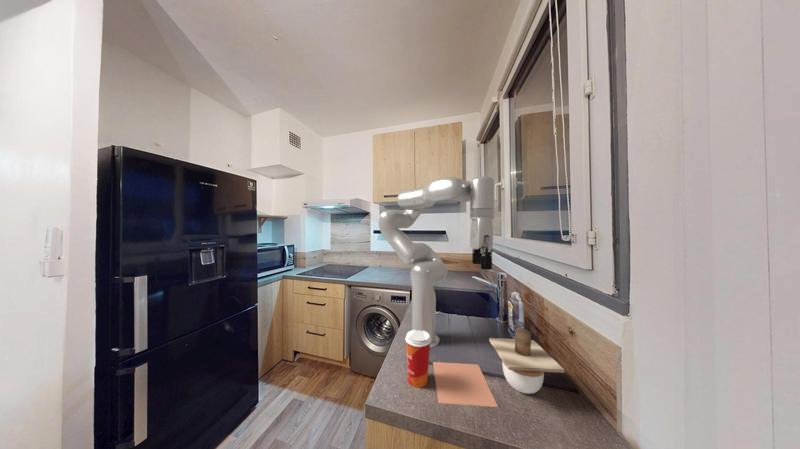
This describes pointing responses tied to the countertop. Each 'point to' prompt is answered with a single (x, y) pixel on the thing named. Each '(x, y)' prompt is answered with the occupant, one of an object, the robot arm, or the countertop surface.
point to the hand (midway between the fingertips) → (481, 266)
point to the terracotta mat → (462, 385)
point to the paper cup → (417, 357)
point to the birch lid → (524, 353)
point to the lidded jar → (524, 379)
